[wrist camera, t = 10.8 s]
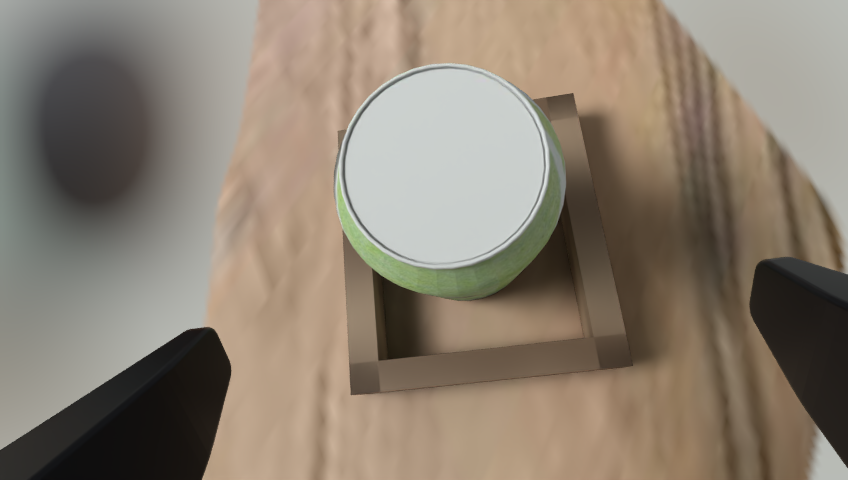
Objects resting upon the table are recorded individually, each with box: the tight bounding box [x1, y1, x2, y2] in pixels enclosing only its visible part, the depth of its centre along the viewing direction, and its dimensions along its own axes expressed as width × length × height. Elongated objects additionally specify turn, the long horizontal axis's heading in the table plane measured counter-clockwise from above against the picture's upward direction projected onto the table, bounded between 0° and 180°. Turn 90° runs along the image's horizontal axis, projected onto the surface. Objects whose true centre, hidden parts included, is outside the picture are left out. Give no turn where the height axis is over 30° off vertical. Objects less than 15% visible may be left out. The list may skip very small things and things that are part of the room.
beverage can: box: [334, 63, 566, 301], centre depth 17 cm, size 6×7×12 cm
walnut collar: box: [338, 93, 633, 395], centre depth 22 cm, size 12×11×2 cm
